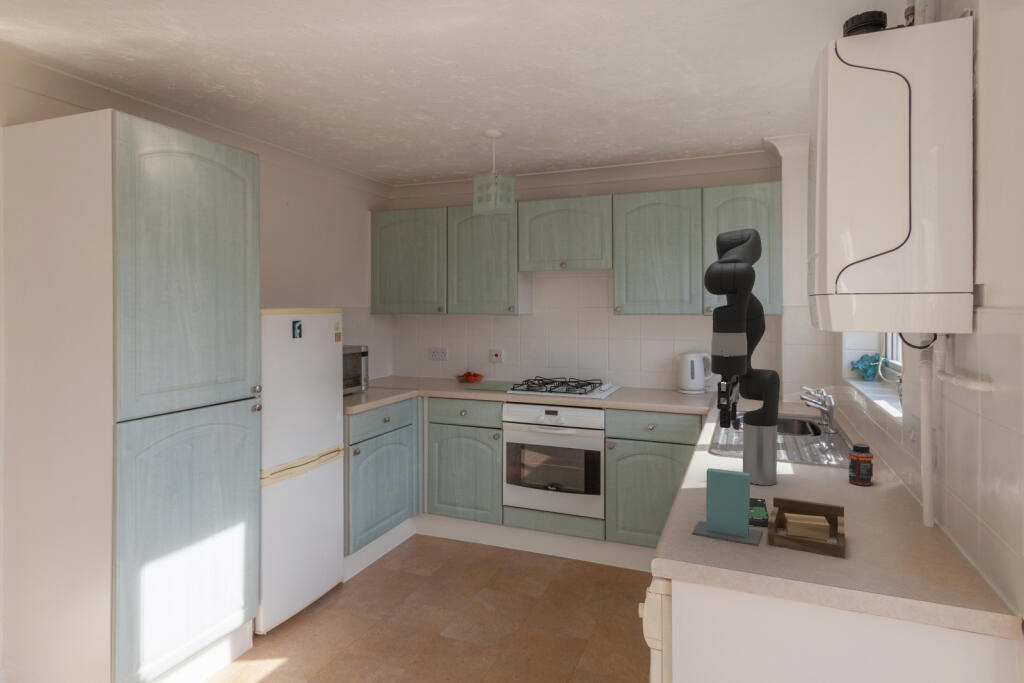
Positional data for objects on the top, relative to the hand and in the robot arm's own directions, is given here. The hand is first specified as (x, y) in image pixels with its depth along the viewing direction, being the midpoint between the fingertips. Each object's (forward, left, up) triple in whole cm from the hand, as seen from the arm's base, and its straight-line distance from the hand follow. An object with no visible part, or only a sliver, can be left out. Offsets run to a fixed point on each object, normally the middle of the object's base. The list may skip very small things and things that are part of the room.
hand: (728, 423), depth 130 cm
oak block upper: (-2, +16, -23) cm, 28 cm away
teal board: (0, 0, -25) cm, 25 cm away
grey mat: (0, 0, -26) cm, 26 cm away
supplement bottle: (-56, +28, -26) cm, 68 cm away
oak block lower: (-2, +16, -26) cm, 30 cm away
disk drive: (-15, +2, -26) cm, 30 cm away
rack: (-4, +16, -25) cm, 30 cm away
